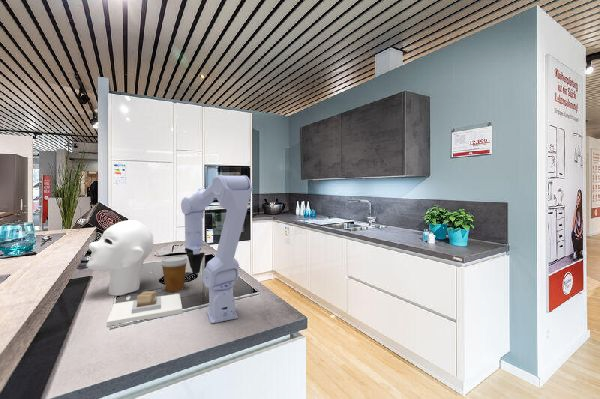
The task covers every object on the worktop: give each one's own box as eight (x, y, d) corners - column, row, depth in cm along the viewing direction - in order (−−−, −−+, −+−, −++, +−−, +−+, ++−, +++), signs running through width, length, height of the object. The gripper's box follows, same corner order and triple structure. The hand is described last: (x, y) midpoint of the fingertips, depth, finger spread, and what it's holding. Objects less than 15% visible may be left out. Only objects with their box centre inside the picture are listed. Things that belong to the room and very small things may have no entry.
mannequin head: (137, 306, 107) (175, 236, 116) (69, 289, 93) (118, 210, 101) (124, 293, 119) (159, 231, 128) (62, 276, 105) (106, 207, 114)
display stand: (182, 313, 92) (182, 304, 91) (106, 327, 83) (106, 317, 83) (179, 297, 104) (179, 290, 104) (113, 308, 95) (113, 300, 95)
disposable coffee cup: (193, 286, 116) (192, 256, 115) (175, 294, 107) (175, 262, 106) (174, 283, 119) (173, 254, 118) (155, 291, 110) (154, 260, 109)
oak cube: (150, 308, 91) (149, 296, 91) (137, 308, 91) (136, 296, 91) (156, 303, 95) (155, 291, 95) (144, 303, 95) (143, 291, 95)
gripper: (208, 234, 97) (209, 274, 97) (202, 228, 110) (203, 263, 110) (186, 235, 94) (187, 277, 94) (182, 229, 107) (183, 265, 107)
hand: (194, 270), depth 102 cm, fingers open, 7 cm apart
